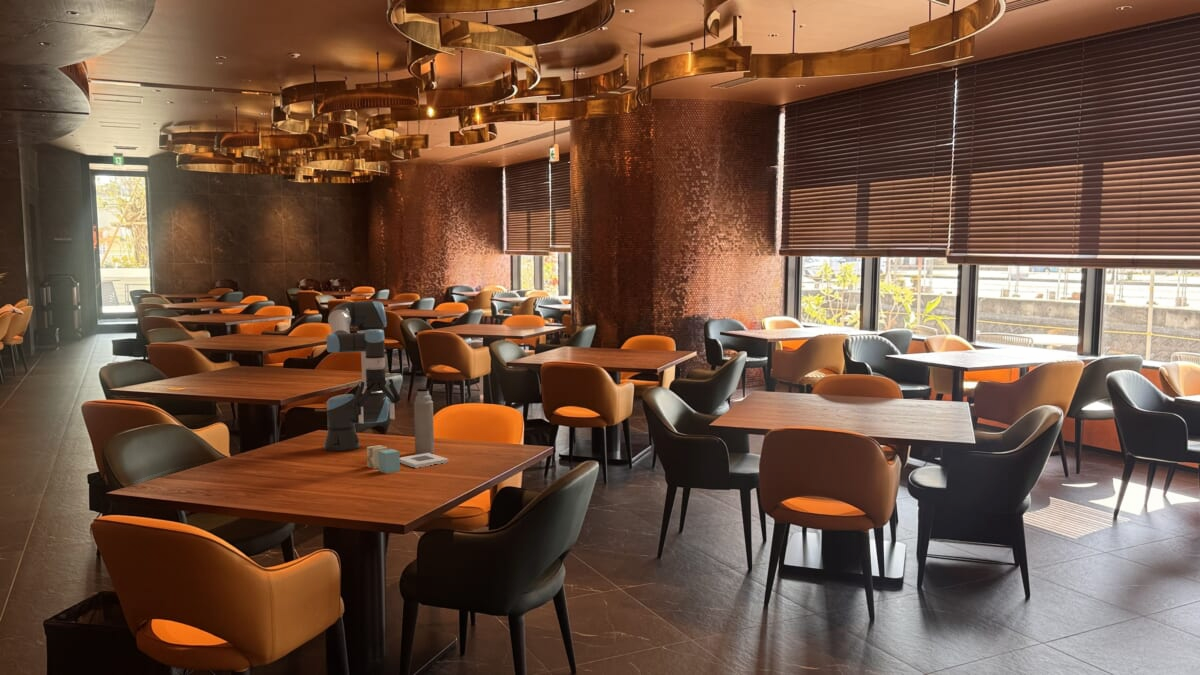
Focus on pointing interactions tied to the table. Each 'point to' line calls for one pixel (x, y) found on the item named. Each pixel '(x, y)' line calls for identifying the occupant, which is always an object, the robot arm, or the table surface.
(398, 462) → the teal block
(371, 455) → the maple block
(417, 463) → the base plate
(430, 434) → the thermos bottle
